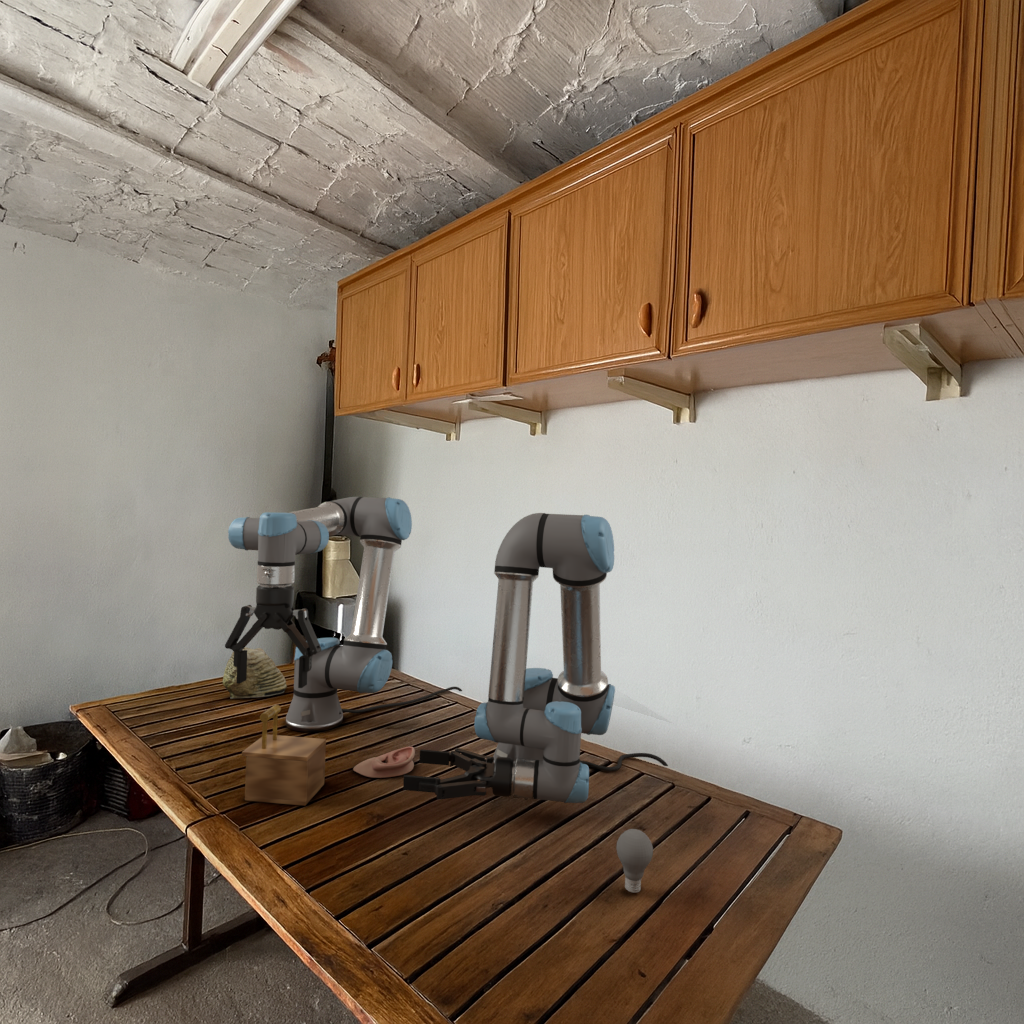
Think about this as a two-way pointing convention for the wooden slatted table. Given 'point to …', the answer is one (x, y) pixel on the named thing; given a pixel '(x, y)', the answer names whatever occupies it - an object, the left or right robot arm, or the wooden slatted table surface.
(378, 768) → the anatomical model
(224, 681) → the fossil
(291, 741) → the lid
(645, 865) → the light bulb
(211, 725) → the wooden slatted table surface
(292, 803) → the chest
